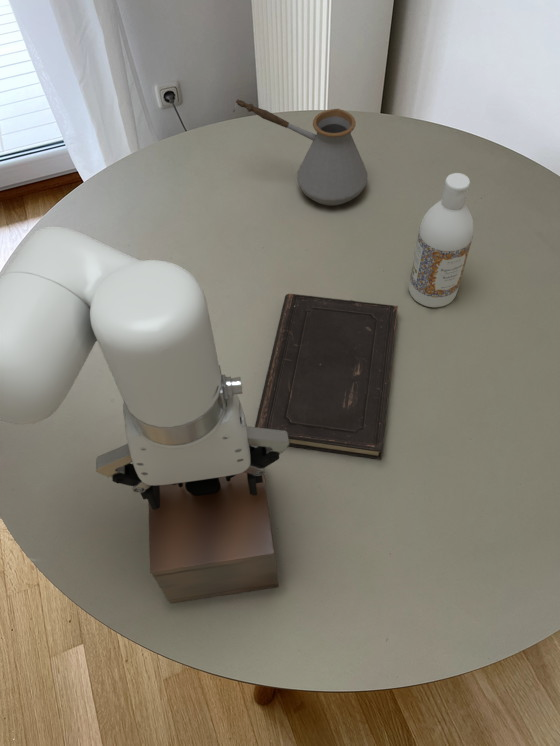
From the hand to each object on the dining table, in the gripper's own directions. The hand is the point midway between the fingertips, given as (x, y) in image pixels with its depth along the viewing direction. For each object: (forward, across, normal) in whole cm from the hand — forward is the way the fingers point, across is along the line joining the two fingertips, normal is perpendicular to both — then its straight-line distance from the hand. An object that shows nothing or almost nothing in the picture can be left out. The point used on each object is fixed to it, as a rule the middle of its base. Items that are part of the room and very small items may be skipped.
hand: (204, 488), depth 65 cm
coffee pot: (+13, -19, -58) cm, 62 cm away
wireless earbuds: (+2, 0, 0) cm, 2 cm away
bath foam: (+13, -34, -32) cm, 48 cm away
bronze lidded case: (+13, 0, 0) cm, 13 cm away
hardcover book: (+13, -17, -20) cm, 29 cm away
